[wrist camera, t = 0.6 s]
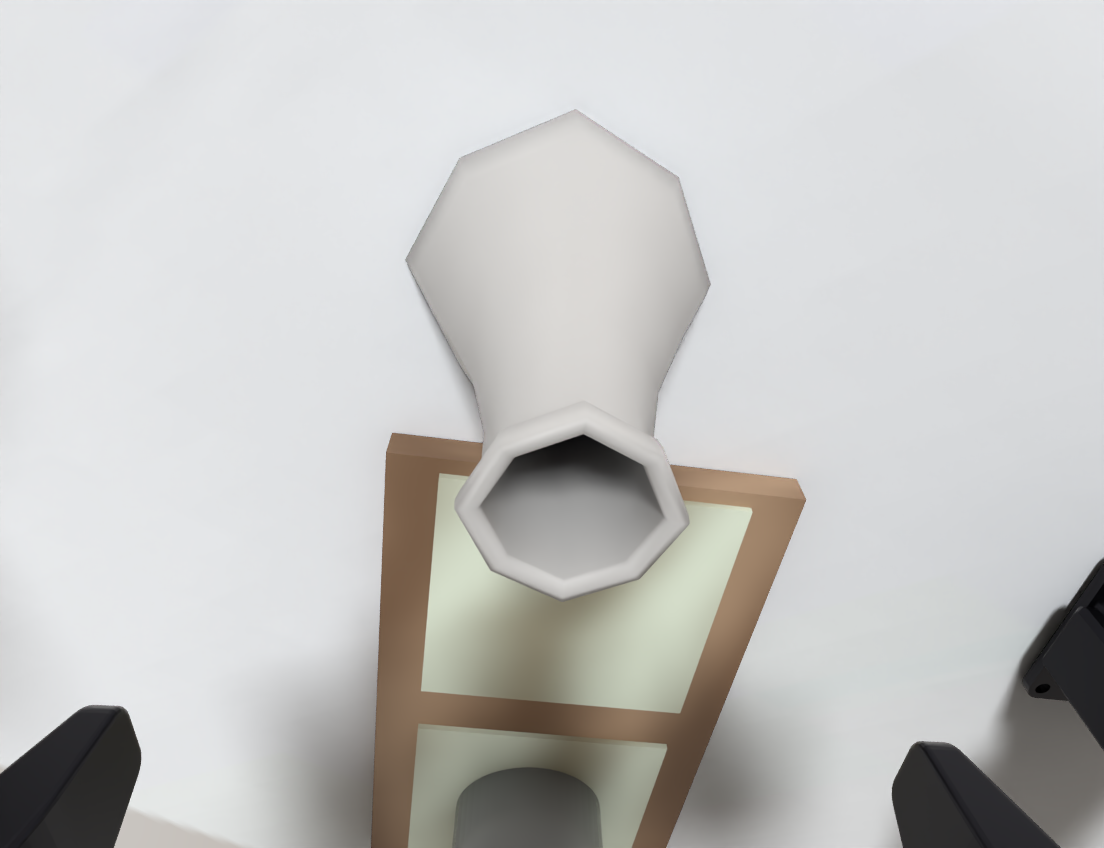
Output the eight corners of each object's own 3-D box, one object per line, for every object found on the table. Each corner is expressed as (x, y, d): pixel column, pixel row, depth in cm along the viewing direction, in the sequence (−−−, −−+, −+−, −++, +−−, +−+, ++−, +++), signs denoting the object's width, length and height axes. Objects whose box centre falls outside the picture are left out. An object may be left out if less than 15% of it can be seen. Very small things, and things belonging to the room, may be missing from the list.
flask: (542, 437, 22) (543, 743, 14) (355, 251, 19) (205, 494, 11) (757, 283, 20) (921, 539, 11) (581, 44, 17) (621, 145, 8)
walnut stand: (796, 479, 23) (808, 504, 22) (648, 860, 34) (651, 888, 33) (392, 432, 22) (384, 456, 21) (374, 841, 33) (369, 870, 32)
